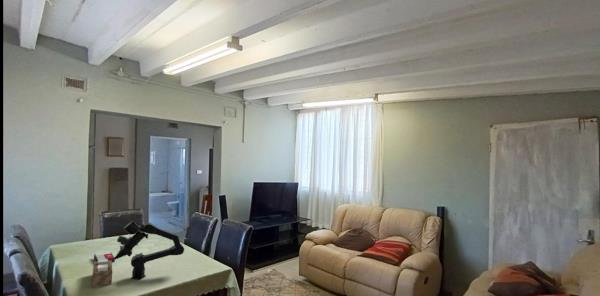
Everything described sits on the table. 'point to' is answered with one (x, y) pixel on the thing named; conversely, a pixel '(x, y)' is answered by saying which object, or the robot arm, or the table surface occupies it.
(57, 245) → the table surface
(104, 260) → the grey button
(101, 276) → the brown rectangular box
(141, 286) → the table surface
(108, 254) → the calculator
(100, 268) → the cream button
